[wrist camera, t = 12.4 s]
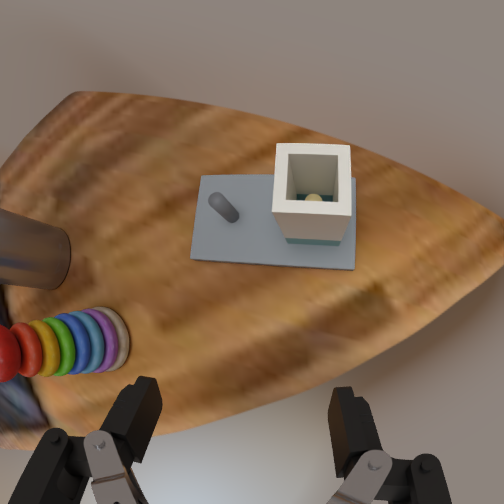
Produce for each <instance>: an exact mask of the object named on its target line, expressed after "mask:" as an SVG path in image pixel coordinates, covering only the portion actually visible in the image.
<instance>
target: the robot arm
mask: <svg viewBox="0 0 504 504" xmlns="http://www.w3.org/2000/svg"><path fill="white" fill-rule="evenodd" d="M69 262H70V244H69V240H68V237H67V235H66V233H65V232H64V231H63V230H62V229H60V228H57V227H54V226H51V225H48V224H45V223H42V222H39V221H36V220H33V219H30V218H27V217H24V216H21V215H18V214H15V213H12V212H10V211H7V210H4V209H1V208H0V284H8V285H16V286H24V287H32V288H41V289H55V288H57V287H58V286H59V285H60V284H61V283H62V281H63V280H64V278H65V276H66V274H67V270H68V267H69ZM161 411H162V398H161V394H160V391H159V387H158V384H157V380H156V379H155V378H151V377H145V376H139V377H138V378H137V380H136V382H135V384H134V385H130V384H129V385H127V386H126V387H125V388H124V389H123V390H121V392H120V393H119V395H118V397H117V400H116V401H115V402H114V404H113V406H112V408H111V409H110V411H109V413H108V415H107V417H106V419H105V420H104V422H103V424H102V426H101V428H100V429H99V430H97V431H93V432H91V433H89V434H88V435H87V436H86V437H76V436H68V435H67V433H66V432H65V431H64V430H63V429H60V428H52V429H49V430H47V431H46V432H45V433H44V435H43V437H42V438H41V440H40V442H39V444H38V445H37V447H36V449H35V451H34V453H33V455H32V456H31V458H30V460H29V462H28V464H27V466H26V468H25V470H24V472H23V474H22V475H21V477H20V479H19V482H18V483H17V486H16V488H15V490H14V492H13V494H12V496H11V498H10V500H9V502H8V504H80V501H81V499H82V496H83V493H84V491H85V488H86V485H87V483H88V480H89V478H90V477H93V482H91V486H92V490H93V493H94V496H95V499H96V502H97V504H149V503H148V502H147V500H146V499H145V497H144V495H143V492H142V490H141V488H140V486H139V484H138V482H137V480H136V477H135V475H134V473H133V470H132V468H131V466H132V463H133V461H134V462H138V463H142V460H143V457H144V455H145V452H146V450H147V447H148V444H149V442H150V439H151V437H152V434H153V431H154V429H155V426H156V424H157V421H158V419H159V416H160V413H161ZM328 423H329V429H330V436H331V442H332V448H333V456H334V463H335V470H336V477H337V478H341V477H344V482H343V484H342V485H341V486H340V488H339V489H338V490H337V492H336V493H335V494H334V495H333V496H332V497H331V499H330V500H329V501H328V502H327V504H371V502H372V501H373V500H386V501H388V504H452V502H451V498H450V495H449V491H448V487H447V483H446V480H445V477H444V473H443V470H442V467H441V463H440V461H439V460H438V459H437V457H435V456H434V455H432V454H421V455H419V456H417V457H416V458H415V459H414V460H401V459H394V458H392V457H390V456H389V455H388V454H387V453H386V452H384V451H383V449H382V447H381V443H380V439H379V436H378V433H377V429H376V426H375V423H374V419H373V416H372V413H371V410H370V407H369V404H368V403H367V402H366V401H365V400H364V398H363V397H354V393H353V390H352V387H336V388H334V390H333V393H332V397H331V401H330V405H329V409H328Z"/></svg>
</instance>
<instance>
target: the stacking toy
mask: <svg viewBox="0 0 504 504" xmlns="http://www.w3.org/2000/svg"><path fill="white" fill-rule="evenodd" d="M128 351H129V336H128V331H127V329H126V326H125V324H124V322H123V321H122V319H121V318H120V317H119V316H118V314H116V313H115V312H114V311H113V310H111V309H109V308H106V307H95V308H92V309H84V310H82V311H73V312H70V313H68V314H67V313H63V314H59V315H57V316H55V317H49V318H45V319H44V320H42V321H41V320H34V321H31V322H30V323H29V324H26V323H16V324H14V325H13V326H12V327H11V329H10V330H8V329H7V328H6V327H4V326H2V325H0V382H6V381H8V380H10V379H12V378H13V377H14V376H15V375H16V374H17V372H19V373H20V374H21V375H23V376H26V377H32V376H35V375H36V374H39V375H40V376H44V377H49V376H52V375H55V376H63V375H66V374H78V373H91V372H94V373H101V372H104V371H113V370H116V369H118V368H119V367H121V366H122V365H123V363H124V362H125V360H126V358H127V355H128Z"/></svg>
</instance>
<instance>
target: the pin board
mask: <svg viewBox="0 0 504 504" xmlns="http://www.w3.org/2000/svg"><path fill="white" fill-rule="evenodd" d="M274 176H275V175H204V176H201V182H200V189H199V195H198V202H197V209H196V216H195V223H194V231H193V239H192V247H191V255H190V259H193V260H199V261H213V262H226V263H241V264H255V265H270V266H285V267H301V268H317V269H333V270H350V271H353V270H354V268H355V242H356V184H355V178H351V207H352V210H351V218H350V221H349V223H348V226H347V228H346V230H345V233H344V235H343V238H342V240H341V242H340V245H339V246H325V245H307V244H289V243H287V241H286V239H285V237H284V235H283V233H282V231H281V229H280V227H279V225H278V223H277V221H276V219H275V217H274V215H273V213H272V202H273V189H274ZM305 201H322V198H321V197H320V196H319V195H317V194H309V195H308V196H307V197H306V198H305Z"/></svg>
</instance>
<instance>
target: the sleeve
mask: <svg viewBox="0 0 504 504" xmlns="http://www.w3.org/2000/svg"><path fill="white" fill-rule="evenodd" d="M309 194H317V195H319V196H320V197H321V198H322V201H305V198H306V197H307V196H308V195H309ZM351 210H352V207H351V161H350V145H333V144H304V143H277V147H276V162H275V176H274V189H273V202H272V213H273V215H274V217H275V219H276V221H277V223H278V225H279V227H280V229H281V231H282V233H283V235H284V237H285V239H286V241H287V243H289V244H307V245H325V246H339V245H340V242H341V240H342V238H343V235H344V233H345V230H346V228H347V226H348V223H349V221H350V218H351Z"/></svg>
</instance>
